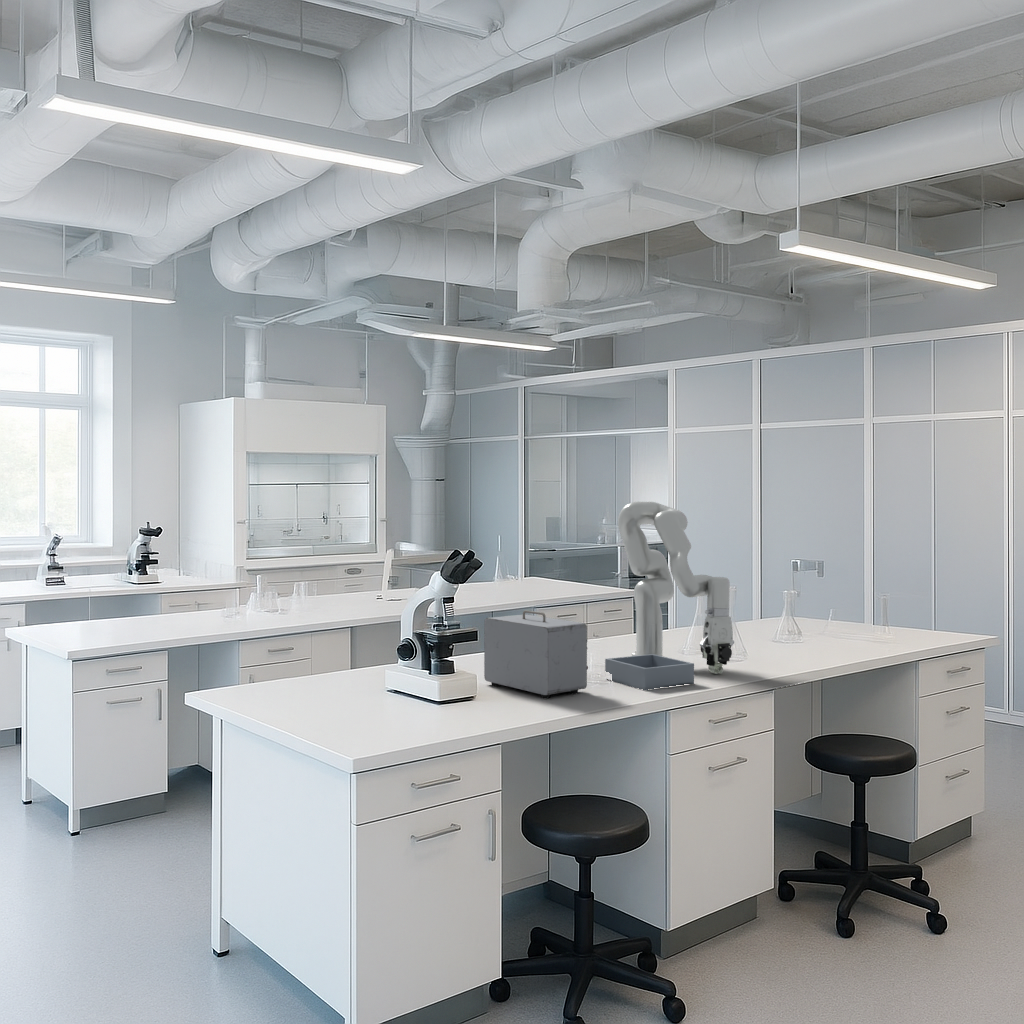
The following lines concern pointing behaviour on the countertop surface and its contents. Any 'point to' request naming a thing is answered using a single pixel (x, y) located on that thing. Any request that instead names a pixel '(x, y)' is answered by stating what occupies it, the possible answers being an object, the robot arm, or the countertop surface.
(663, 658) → the parts bin
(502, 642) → the vintage electronic device
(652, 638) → the robot arm
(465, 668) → the countertop surface
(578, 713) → the countertop surface
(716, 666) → the pneumatic valve
